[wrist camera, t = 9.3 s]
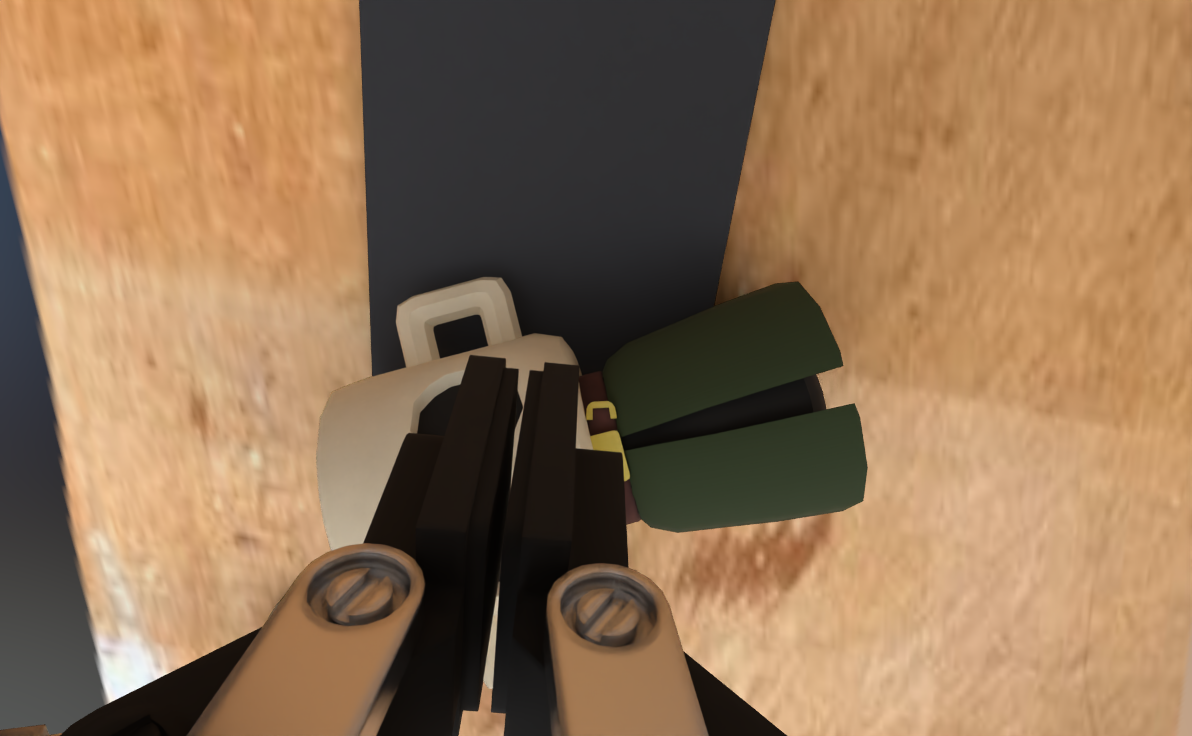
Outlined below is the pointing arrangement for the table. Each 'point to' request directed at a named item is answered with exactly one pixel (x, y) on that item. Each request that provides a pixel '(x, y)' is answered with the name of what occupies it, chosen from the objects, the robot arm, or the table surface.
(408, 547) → the robot arm
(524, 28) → the mat
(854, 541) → the table surface
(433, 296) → the character mug
